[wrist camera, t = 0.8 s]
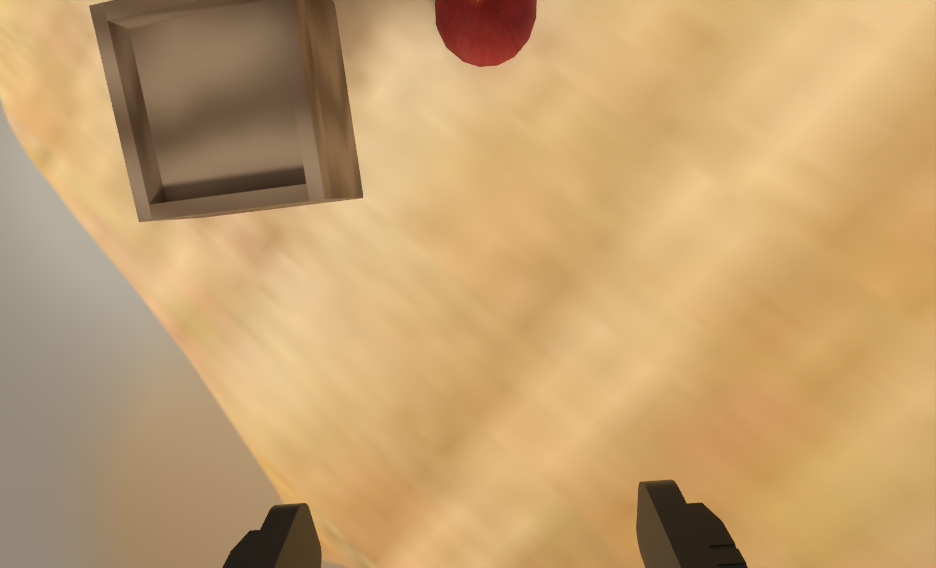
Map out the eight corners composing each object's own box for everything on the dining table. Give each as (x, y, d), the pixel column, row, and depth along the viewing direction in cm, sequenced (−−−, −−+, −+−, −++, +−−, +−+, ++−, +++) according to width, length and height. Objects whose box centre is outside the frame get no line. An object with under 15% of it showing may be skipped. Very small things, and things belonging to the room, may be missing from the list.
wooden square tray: (172, 39, 35) (89, 5, 28) (336, 6, 32) (286, -39, 26) (208, 216, 37) (139, 221, 31) (365, 197, 35) (324, 198, 28)
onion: (465, -29, 30) (438, -105, 23) (550, -3, 30) (552, -72, 22) (438, 64, 32) (403, 22, 24) (519, 90, 31) (510, 56, 23)
